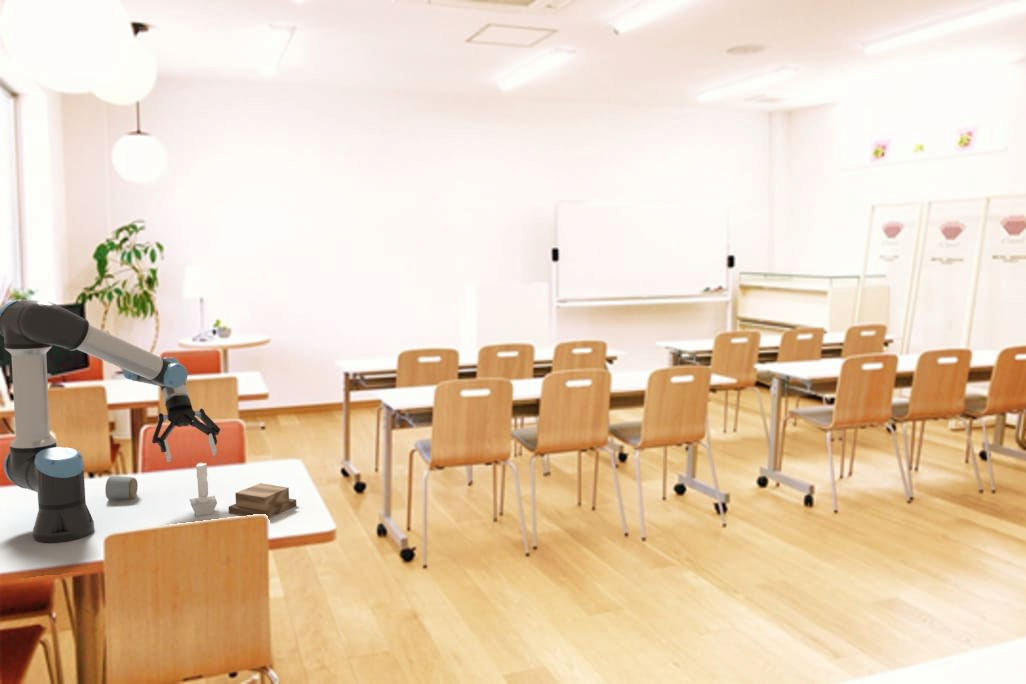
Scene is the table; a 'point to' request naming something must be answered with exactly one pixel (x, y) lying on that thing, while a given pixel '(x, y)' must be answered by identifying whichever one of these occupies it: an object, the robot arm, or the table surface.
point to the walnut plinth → (268, 512)
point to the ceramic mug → (121, 487)
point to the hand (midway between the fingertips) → (192, 456)
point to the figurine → (203, 493)
